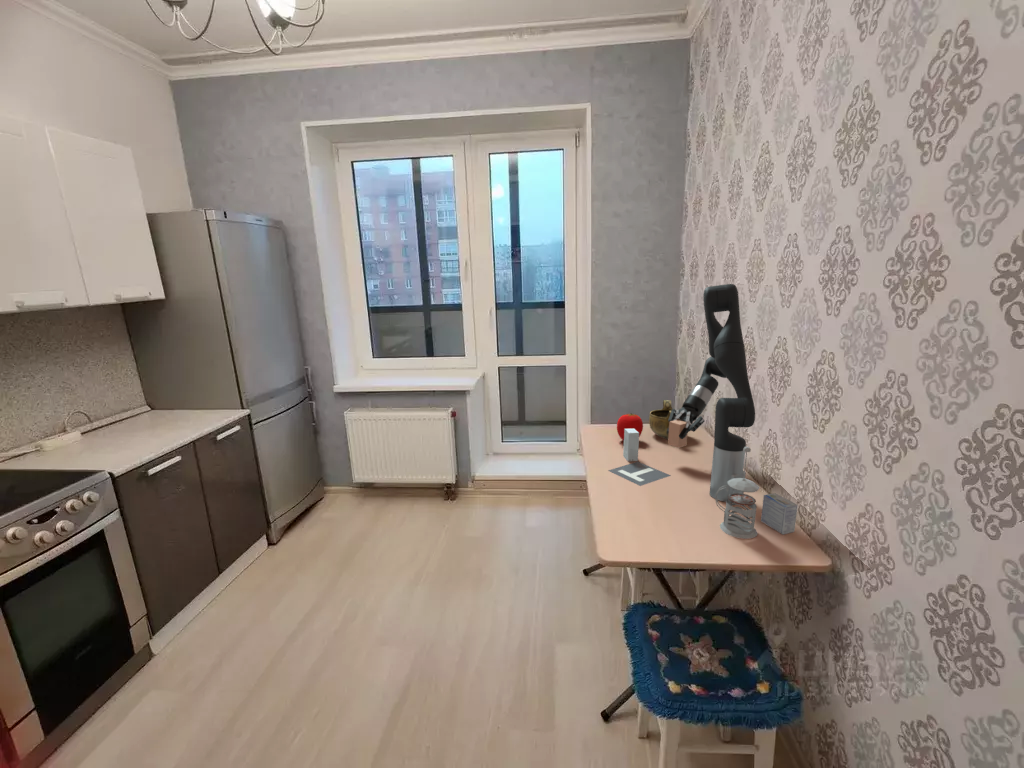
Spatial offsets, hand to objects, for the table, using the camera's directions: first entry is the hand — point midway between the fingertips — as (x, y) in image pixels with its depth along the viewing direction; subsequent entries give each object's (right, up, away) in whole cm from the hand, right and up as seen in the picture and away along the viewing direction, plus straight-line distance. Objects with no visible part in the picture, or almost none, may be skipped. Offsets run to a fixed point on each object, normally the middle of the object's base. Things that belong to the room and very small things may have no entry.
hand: (674, 435), depth 176 cm
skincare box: (-14, -11, +10) cm, 20 cm away
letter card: (-15, -14, -4) cm, 21 cm away
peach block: (+2, -4, +2) cm, 4 cm away
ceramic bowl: (+9, -5, +36) cm, 37 cm away
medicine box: (+15, -22, -41) cm, 49 cm away
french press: (+3, -22, -42) cm, 48 cm away
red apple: (-10, -6, +30) cm, 32 cm away
